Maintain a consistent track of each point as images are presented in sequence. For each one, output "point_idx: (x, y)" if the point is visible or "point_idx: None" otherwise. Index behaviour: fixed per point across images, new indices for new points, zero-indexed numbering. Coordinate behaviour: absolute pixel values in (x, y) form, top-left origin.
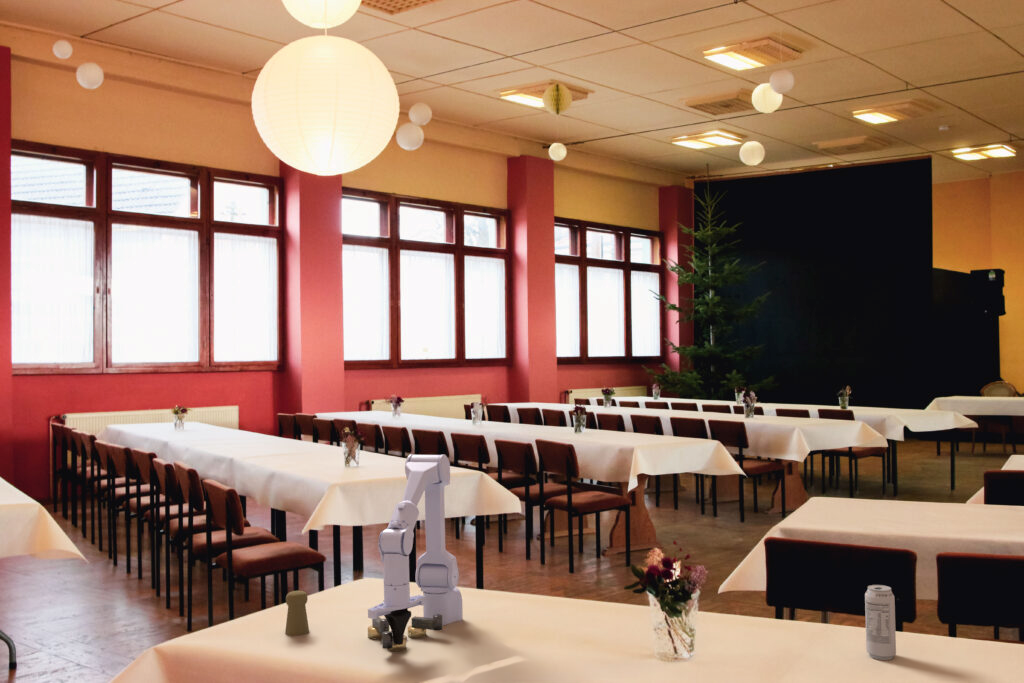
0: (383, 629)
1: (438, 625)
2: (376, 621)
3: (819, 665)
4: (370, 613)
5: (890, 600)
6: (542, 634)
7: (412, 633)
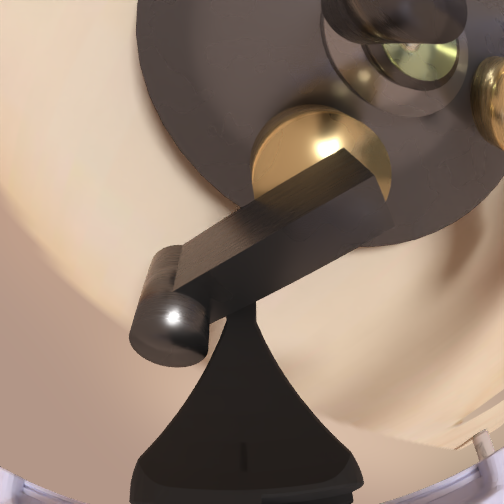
0: (347, 23)
1: None
2: None
3: (460, 439)
4: (3, 498)
5: None
6: None
7: (487, 115)
